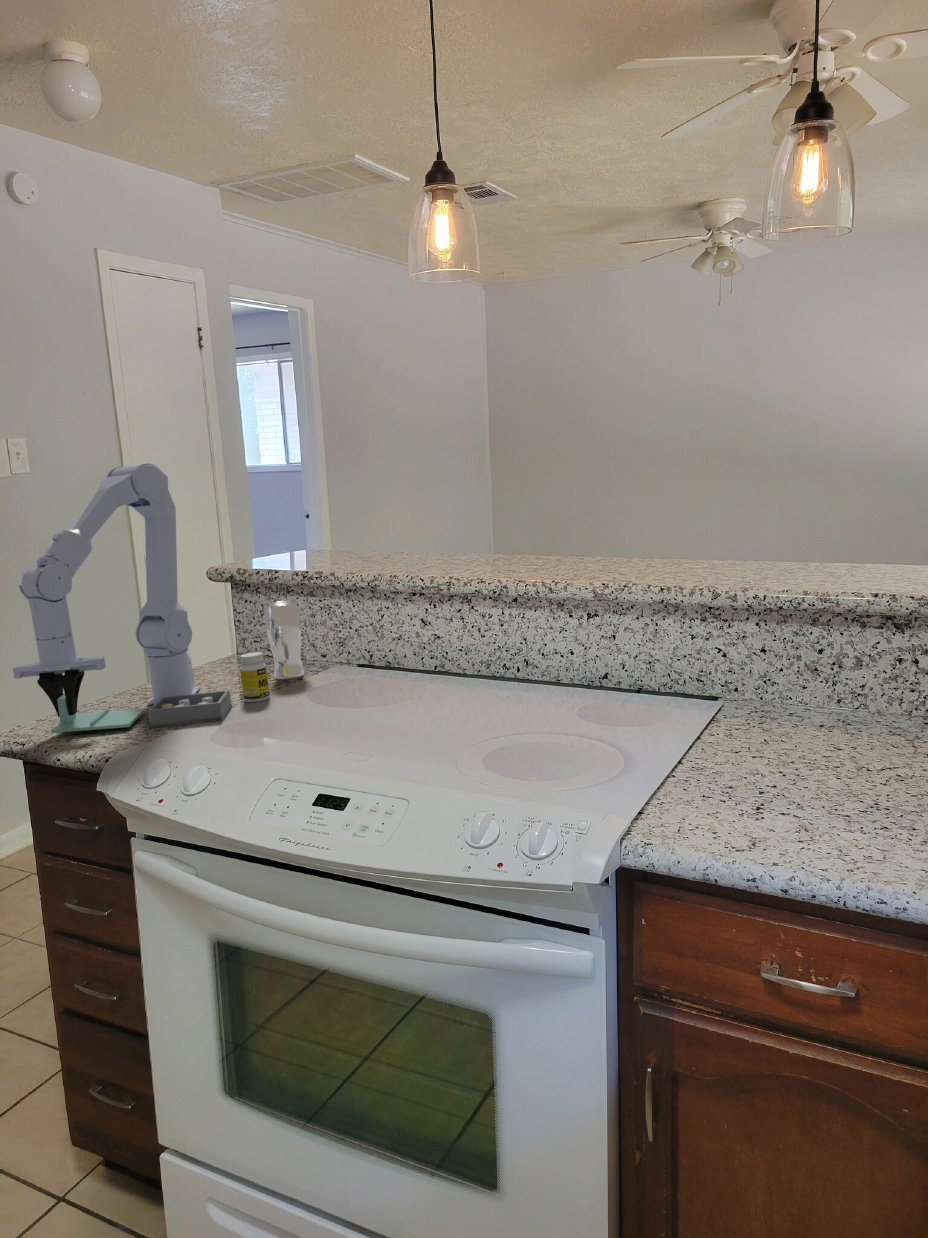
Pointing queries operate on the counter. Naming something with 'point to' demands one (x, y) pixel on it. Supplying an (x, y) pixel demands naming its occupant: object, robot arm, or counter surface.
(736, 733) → the counter surface
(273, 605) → the beer glass
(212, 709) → the tub
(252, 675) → the supplement bottle
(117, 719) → the lid
